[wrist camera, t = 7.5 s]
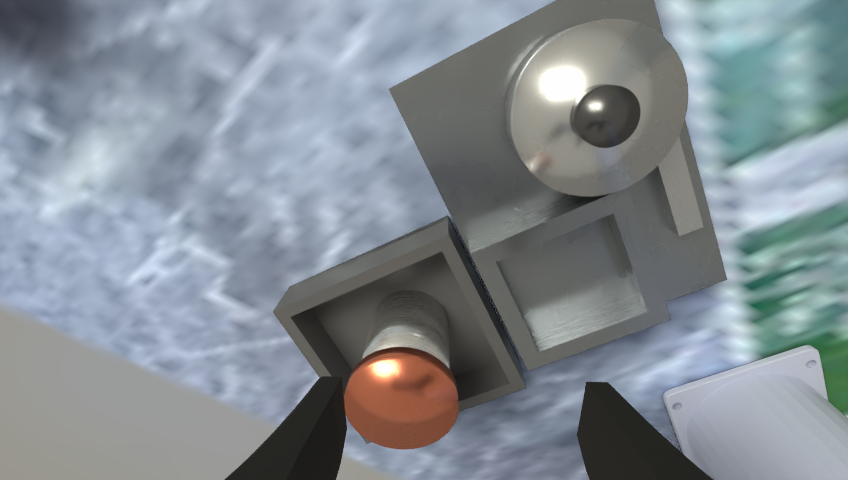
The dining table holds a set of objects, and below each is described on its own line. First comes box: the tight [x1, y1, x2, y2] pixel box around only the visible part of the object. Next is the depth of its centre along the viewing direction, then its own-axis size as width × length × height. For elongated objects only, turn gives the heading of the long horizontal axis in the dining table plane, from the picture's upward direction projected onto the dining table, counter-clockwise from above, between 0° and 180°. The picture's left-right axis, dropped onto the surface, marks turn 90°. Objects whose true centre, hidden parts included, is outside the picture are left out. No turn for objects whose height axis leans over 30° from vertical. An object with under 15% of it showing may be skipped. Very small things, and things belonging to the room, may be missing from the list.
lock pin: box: [344, 290, 458, 449], centre depth 20 cm, size 5×5×6 cm
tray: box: [273, 216, 526, 443], centre depth 22 cm, size 9×9×2 cm
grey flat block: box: [389, 0, 727, 371], centre depth 18 cm, size 14×10×5 cm
